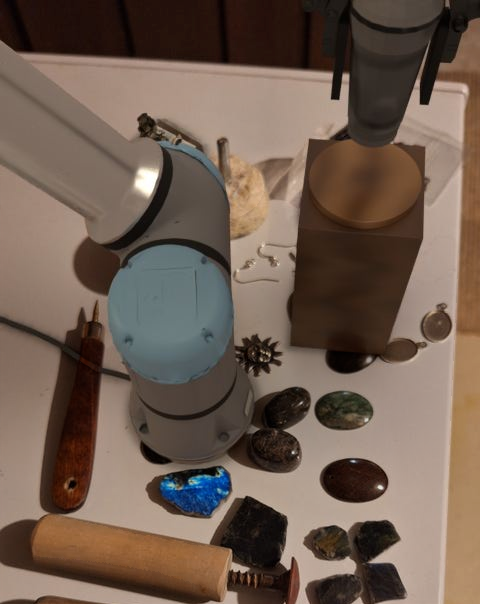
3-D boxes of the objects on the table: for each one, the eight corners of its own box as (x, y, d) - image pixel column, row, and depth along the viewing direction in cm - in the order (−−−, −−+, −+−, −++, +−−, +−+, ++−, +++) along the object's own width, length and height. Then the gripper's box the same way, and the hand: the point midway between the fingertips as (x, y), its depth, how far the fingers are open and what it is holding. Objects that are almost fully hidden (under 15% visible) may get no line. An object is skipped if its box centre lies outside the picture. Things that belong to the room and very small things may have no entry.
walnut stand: (289, 346, 81) (297, 228, 61) (298, 270, 86) (308, 138, 66) (383, 355, 80) (423, 238, 60) (387, 278, 85) (425, 146, 65)
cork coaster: (303, 224, 62) (304, 217, 61) (313, 142, 66) (313, 134, 65) (418, 233, 61) (420, 226, 60) (420, 149, 65) (422, 141, 64)
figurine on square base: (202, 178, 92) (129, 153, 89) (190, 202, 98) (121, 179, 95) (213, 111, 95) (143, 84, 92) (201, 138, 101) (134, 114, 98)
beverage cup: (386, 171, 56) (446, -91, 37) (316, 137, 58) (341, -128, 39) (427, 122, 58) (503, -148, 40) (359, 91, 60) (402, -180, 42)
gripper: (641, -330, 34) (495, 67, 55) (274, -331, 35) (269, 55, 56) (661, -263, 31) (499, 130, 52) (259, -268, 32) (260, 115, 53)
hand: (379, 91), depth 54 cm, fingers closed on beverage cup, 7 cm apart
